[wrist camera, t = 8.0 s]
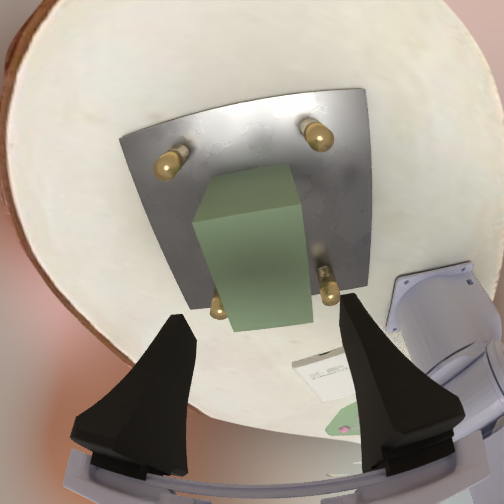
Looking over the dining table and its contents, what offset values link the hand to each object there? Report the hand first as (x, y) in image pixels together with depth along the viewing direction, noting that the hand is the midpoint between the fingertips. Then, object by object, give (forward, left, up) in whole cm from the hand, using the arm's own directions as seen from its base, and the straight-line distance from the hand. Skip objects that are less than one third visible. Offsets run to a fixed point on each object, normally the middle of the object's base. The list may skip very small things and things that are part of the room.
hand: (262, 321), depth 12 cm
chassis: (0, 0, -9) cm, 9 cm away
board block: (0, 0, -9) cm, 9 cm away
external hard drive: (-6, +24, -10) cm, 27 cm away
